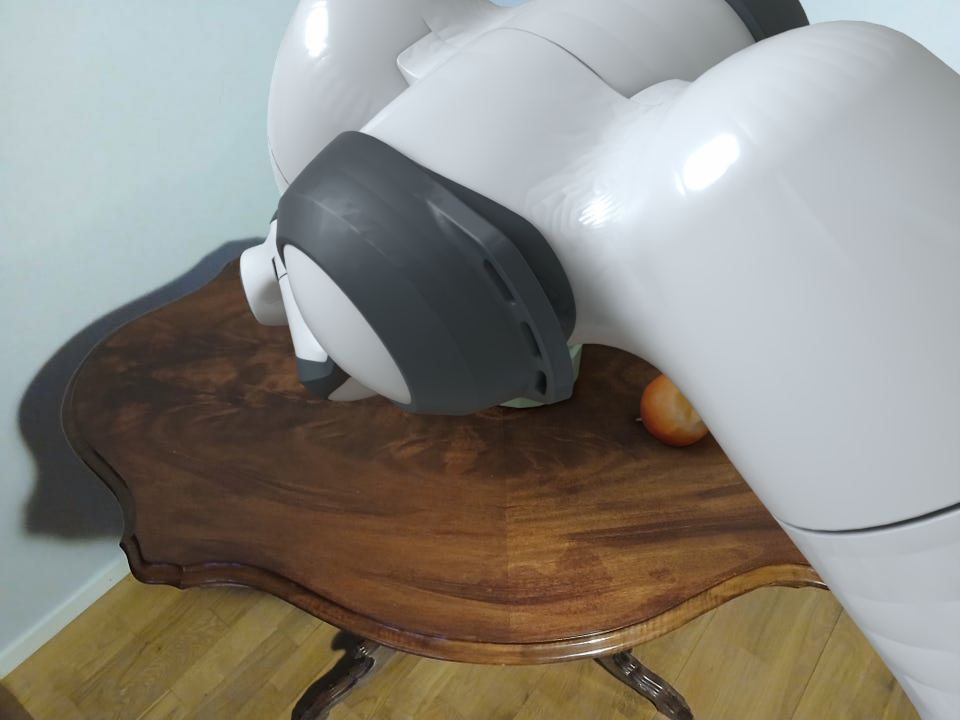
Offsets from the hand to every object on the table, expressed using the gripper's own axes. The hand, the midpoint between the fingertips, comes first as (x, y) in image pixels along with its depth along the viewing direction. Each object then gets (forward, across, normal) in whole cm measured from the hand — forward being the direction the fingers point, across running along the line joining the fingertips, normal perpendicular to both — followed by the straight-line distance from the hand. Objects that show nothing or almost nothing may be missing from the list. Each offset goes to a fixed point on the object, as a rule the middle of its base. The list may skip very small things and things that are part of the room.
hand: (534, 234), depth 77 cm
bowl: (-2, -2, +17) cm, 18 cm away
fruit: (+11, -17, +18) cm, 26 cm away
